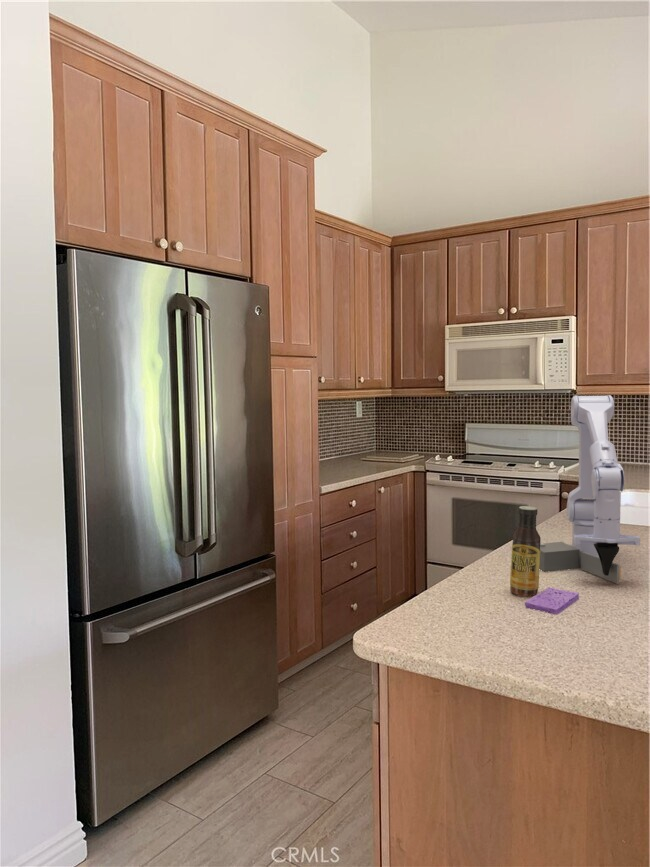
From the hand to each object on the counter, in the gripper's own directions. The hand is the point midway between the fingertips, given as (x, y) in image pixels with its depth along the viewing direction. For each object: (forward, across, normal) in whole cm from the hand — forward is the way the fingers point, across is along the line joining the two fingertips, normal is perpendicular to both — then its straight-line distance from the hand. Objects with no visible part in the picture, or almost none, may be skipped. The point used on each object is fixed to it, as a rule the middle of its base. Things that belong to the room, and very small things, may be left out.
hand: (605, 574), depth 155 cm
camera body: (+2, -9, +13) cm, 16 cm away
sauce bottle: (+2, -20, -9) cm, 22 cm away
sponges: (+3, -15, -15) cm, 21 cm away
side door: (+2, 0, +5) cm, 5 cm away
